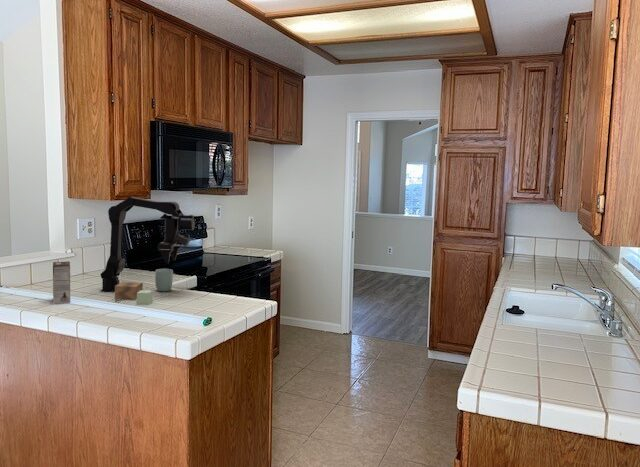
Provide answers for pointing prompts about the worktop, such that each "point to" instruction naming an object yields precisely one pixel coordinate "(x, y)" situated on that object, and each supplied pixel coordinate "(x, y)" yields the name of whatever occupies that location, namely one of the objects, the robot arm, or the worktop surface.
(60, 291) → the coffee box
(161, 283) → the cup
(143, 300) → the green cube
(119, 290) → the walnut block
